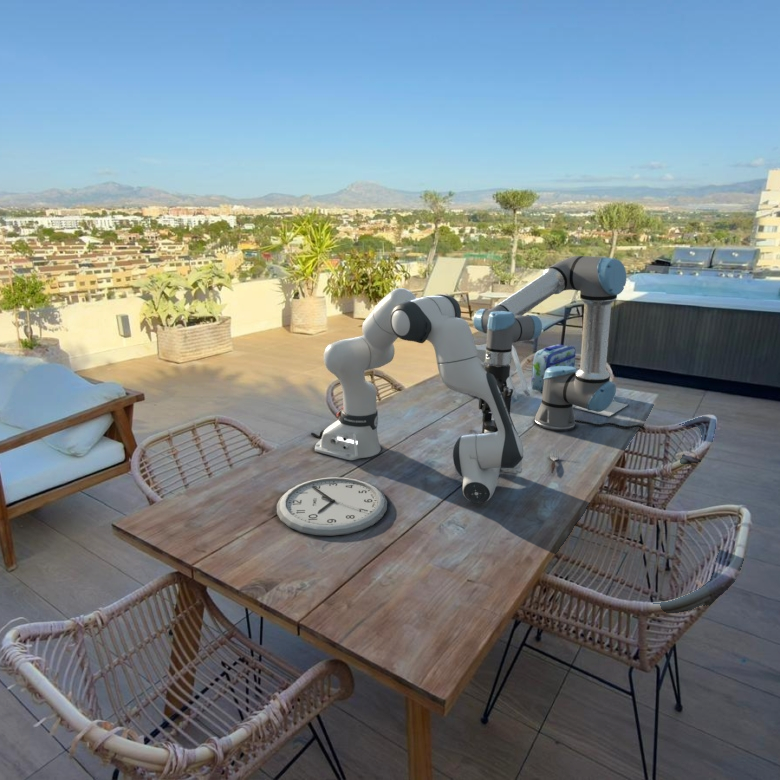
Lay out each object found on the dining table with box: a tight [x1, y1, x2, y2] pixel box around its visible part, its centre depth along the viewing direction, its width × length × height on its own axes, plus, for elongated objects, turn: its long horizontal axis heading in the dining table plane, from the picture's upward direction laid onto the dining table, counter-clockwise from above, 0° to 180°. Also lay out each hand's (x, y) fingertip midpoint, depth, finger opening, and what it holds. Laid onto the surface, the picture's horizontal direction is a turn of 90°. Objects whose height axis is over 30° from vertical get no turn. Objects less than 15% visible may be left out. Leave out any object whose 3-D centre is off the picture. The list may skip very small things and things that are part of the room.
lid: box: [484, 419, 495, 432], centre depth 162 cm, size 5×5×2 cm
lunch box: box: [530, 344, 577, 392], centre depth 247 cm, size 26×11×21 cm, turn 134°
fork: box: [549, 449, 560, 474], centre depth 170 cm, size 3×16×2 cm, turn 160°
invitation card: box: [573, 400, 629, 418], centre depth 226 cm, size 21×1×15 cm
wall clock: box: [276, 476, 388, 537], centre depth 142 cm, size 30×2×30 cm
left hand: (490, 450), depth 165 cm, fingers closed on jar, 5 cm apart
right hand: (491, 436), depth 163 cm, fingers closed on lid, 5 cm apart
